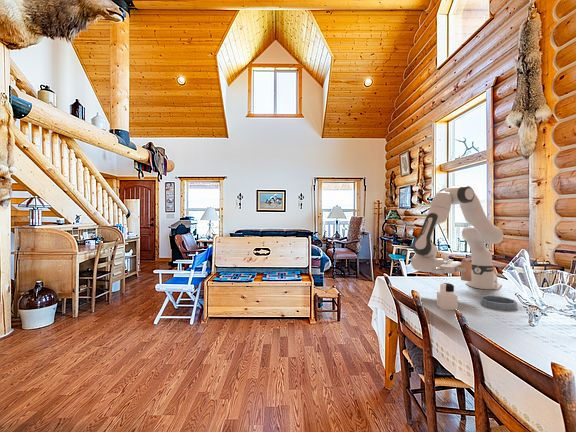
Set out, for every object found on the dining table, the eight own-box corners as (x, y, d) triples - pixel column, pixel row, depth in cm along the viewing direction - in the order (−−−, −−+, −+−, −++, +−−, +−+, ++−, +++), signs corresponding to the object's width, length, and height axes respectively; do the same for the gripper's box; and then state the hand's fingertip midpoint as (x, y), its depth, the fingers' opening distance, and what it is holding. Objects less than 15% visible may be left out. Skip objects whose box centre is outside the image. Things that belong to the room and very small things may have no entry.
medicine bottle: (451, 305, 154) (451, 282, 154) (457, 310, 147) (457, 285, 147) (436, 305, 155) (436, 282, 154) (442, 309, 147) (442, 285, 147)
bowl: (487, 299, 165) (487, 294, 165) (521, 306, 153) (521, 300, 153) (475, 304, 156) (475, 298, 156) (510, 312, 144) (510, 306, 144)
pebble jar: (463, 278, 168) (463, 257, 167) (473, 280, 164) (473, 258, 164) (459, 279, 165) (459, 258, 164) (469, 281, 161) (469, 259, 160)
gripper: (434, 262, 165) (462, 265, 156) (446, 258, 180) (472, 261, 171) (434, 274, 165) (462, 278, 156) (445, 269, 180) (472, 272, 171)
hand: (468, 269), depth 163 cm, fingers closed on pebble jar, 5 cm apart
